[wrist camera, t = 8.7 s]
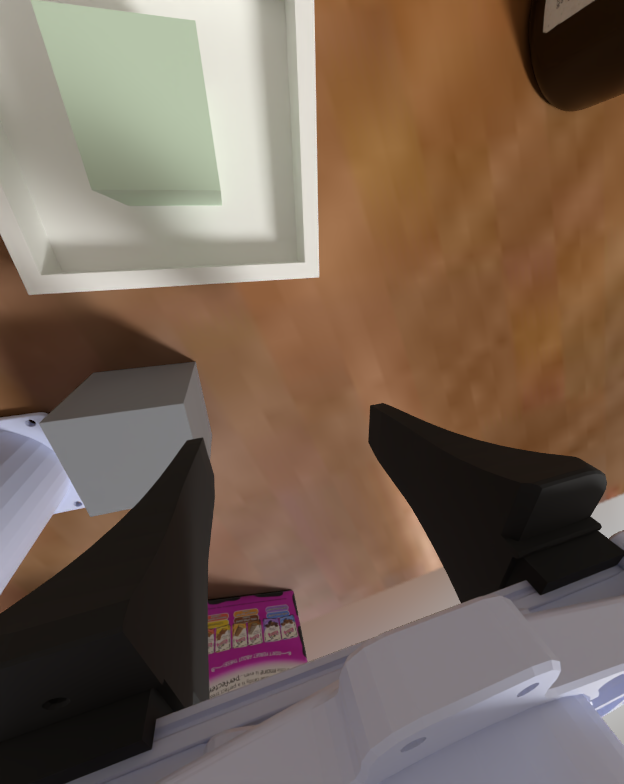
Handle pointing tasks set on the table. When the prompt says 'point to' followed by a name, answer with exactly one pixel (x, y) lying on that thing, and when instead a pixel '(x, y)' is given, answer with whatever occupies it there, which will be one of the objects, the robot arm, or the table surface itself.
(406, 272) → the table surface
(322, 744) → the robot arm
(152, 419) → the gray block
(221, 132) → the tray
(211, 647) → the candy bar box
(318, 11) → the table surface
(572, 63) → the ink bottle
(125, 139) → the sage block
